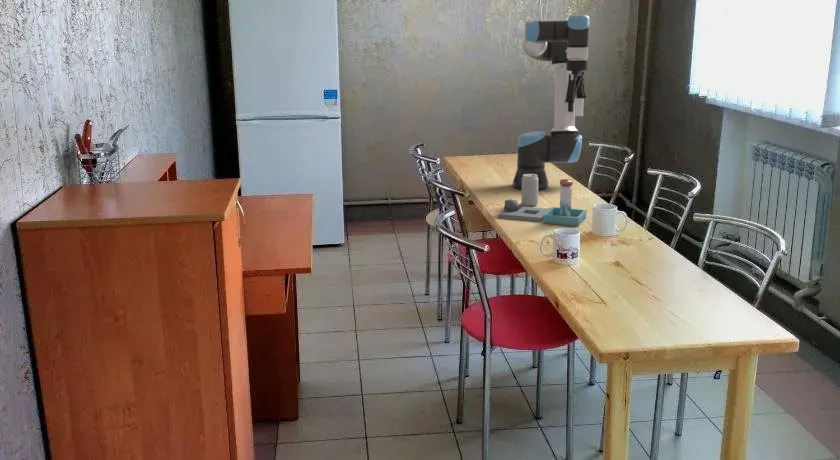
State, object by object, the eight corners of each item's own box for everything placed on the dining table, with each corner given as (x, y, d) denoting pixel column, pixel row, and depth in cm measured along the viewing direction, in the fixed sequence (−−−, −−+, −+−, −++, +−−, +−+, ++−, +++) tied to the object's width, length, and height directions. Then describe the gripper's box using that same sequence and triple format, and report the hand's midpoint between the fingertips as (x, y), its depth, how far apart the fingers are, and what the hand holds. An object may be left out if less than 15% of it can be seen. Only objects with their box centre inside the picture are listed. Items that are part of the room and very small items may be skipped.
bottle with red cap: (560, 217, 288) (561, 178, 284) (572, 218, 286) (574, 179, 282) (557, 220, 284) (558, 181, 280) (569, 221, 282) (571, 182, 278)
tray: (552, 214, 293) (552, 206, 292) (586, 217, 288) (586, 209, 287) (543, 223, 282) (543, 214, 281) (578, 226, 277) (578, 218, 276)
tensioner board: (509, 209, 302) (510, 194, 300) (551, 212, 296) (551, 197, 294) (498, 217, 290) (498, 202, 288) (541, 221, 283) (541, 206, 282)
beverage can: (537, 207, 304) (538, 176, 301) (520, 206, 305) (521, 176, 302) (538, 203, 310) (539, 173, 307) (521, 202, 311) (522, 173, 308)
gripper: (574, 57, 297) (572, 113, 302) (558, 61, 275) (556, 122, 281) (594, 57, 294) (592, 114, 299) (579, 61, 272) (577, 123, 278)
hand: (574, 118), depth 290 cm, fingers open, 13 cm apart
